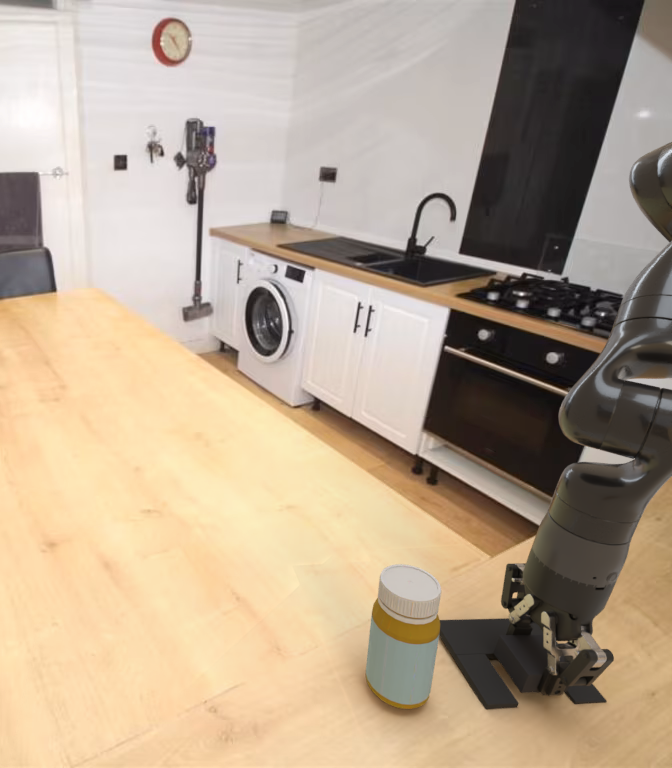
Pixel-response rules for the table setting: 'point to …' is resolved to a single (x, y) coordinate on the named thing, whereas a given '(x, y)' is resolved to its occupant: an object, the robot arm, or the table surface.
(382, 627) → the bottle
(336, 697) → the table surface
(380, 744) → the table surface
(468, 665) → the u-shaped plate
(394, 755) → the table surface
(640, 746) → the table surface
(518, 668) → the dark rectangular block
